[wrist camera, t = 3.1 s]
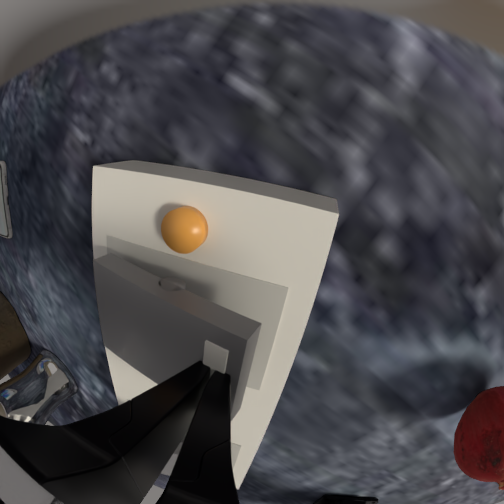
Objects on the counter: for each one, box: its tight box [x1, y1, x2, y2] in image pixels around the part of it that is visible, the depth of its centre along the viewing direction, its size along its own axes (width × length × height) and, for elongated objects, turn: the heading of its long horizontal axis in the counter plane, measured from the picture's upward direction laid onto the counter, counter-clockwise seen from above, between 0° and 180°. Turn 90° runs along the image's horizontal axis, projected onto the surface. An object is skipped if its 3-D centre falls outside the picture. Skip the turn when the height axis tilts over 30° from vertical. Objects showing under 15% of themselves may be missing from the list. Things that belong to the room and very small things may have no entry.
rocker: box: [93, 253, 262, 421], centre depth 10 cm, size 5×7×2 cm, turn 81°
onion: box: [454, 386, 504, 490], centre depth 9 cm, size 6×6×8 cm
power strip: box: [92, 160, 339, 489], centre depth 16 cm, size 30×10×4 cm, turn 171°
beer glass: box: [0, 350, 78, 425], centre depth 17 cm, size 7×7×15 cm
